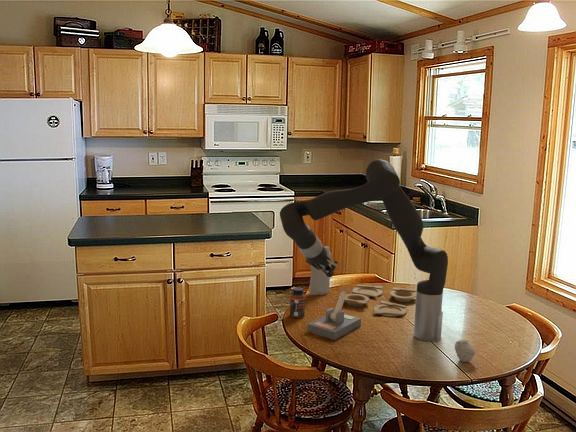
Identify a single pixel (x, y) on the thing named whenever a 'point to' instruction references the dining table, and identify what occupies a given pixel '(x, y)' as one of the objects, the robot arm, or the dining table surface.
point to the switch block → (334, 325)
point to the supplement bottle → (297, 303)
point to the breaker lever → (341, 300)
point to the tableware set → (386, 307)
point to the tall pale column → (319, 279)
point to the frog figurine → (464, 350)
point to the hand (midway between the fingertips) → (330, 275)
